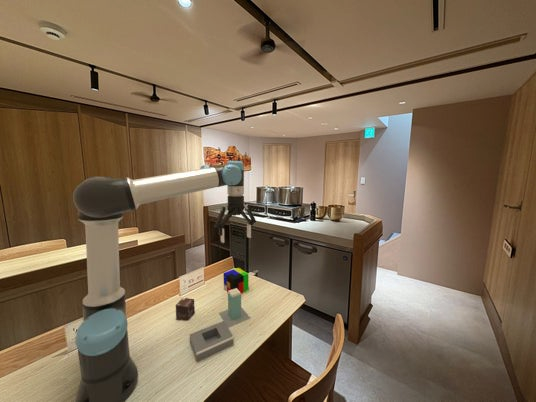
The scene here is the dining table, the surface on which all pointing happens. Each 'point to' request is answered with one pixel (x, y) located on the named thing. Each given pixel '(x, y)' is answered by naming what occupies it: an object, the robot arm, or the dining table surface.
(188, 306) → the box
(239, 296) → the plug
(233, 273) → the puzzle toy
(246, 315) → the mat
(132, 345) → the dining table surface
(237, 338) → the dining table surface
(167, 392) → the dining table surface
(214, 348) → the frame
